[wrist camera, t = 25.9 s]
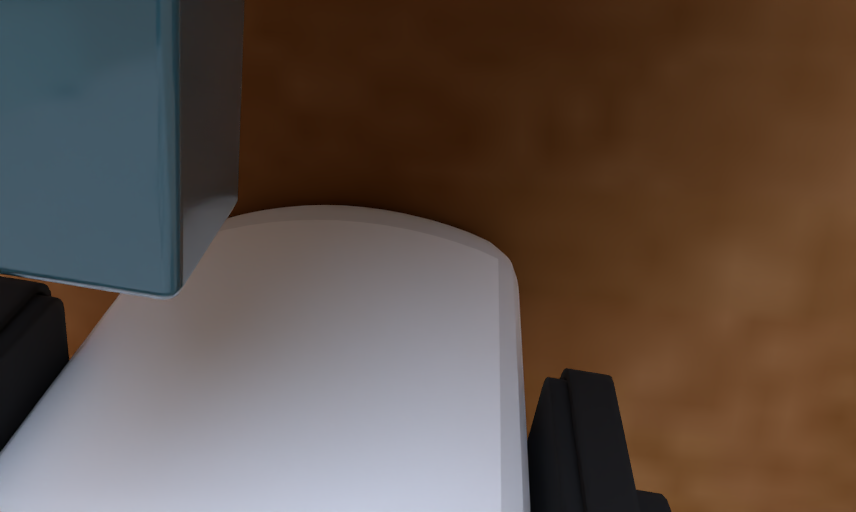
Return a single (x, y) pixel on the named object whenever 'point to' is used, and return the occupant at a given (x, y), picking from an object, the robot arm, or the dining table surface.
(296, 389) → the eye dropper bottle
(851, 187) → the dining table surface
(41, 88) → the pot
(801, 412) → the dining table surface
